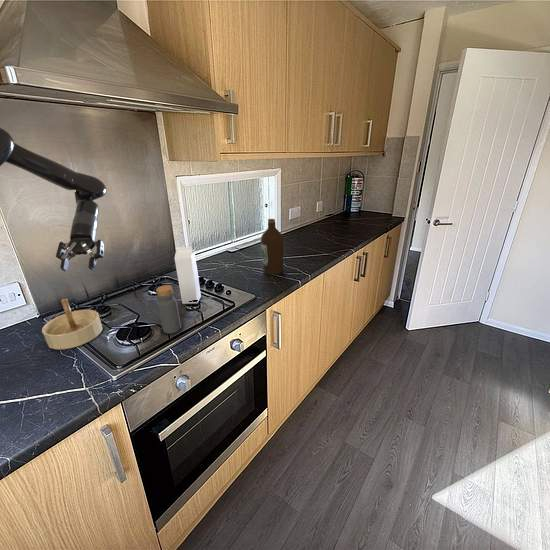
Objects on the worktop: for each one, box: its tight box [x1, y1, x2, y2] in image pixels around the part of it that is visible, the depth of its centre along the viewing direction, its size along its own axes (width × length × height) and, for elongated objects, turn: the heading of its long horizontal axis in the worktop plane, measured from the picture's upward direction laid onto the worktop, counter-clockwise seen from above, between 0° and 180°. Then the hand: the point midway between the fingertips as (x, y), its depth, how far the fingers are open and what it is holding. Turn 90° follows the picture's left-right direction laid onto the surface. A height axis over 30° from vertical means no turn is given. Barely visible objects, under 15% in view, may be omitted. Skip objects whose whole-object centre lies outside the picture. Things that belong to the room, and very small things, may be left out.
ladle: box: [60, 298, 83, 334], centre depth 92 cm, size 5×5×13 cm
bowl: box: [41, 309, 104, 350], centre depth 94 cm, size 15×15×6 cm
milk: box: [174, 246, 202, 305], centre depth 111 cm, size 6×6×22 cm
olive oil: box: [260, 218, 285, 276], centre depth 136 cm, size 11×11×25 cm
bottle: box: [155, 284, 182, 335], centre depth 94 cm, size 6×6×15 cm
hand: (77, 269), depth 98 cm, fingers open, 8 cm apart
